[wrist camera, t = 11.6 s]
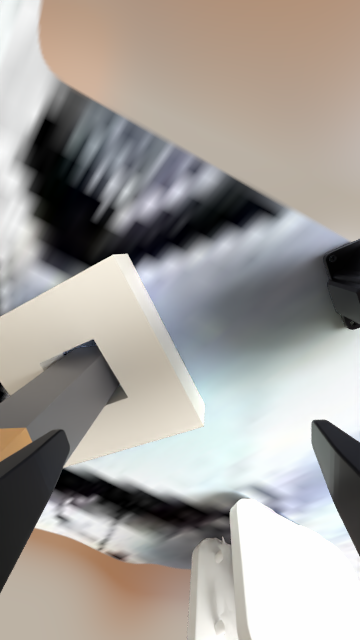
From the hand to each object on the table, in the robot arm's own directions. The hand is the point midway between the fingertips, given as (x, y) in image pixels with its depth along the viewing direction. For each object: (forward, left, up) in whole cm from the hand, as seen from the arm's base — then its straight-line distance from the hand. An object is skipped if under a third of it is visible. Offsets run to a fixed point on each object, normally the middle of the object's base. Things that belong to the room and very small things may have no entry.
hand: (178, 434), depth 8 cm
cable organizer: (+4, +28, -13) cm, 31 cm away
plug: (+11, 0, -13) cm, 17 cm away
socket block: (+11, 0, -13) cm, 17 cm away
